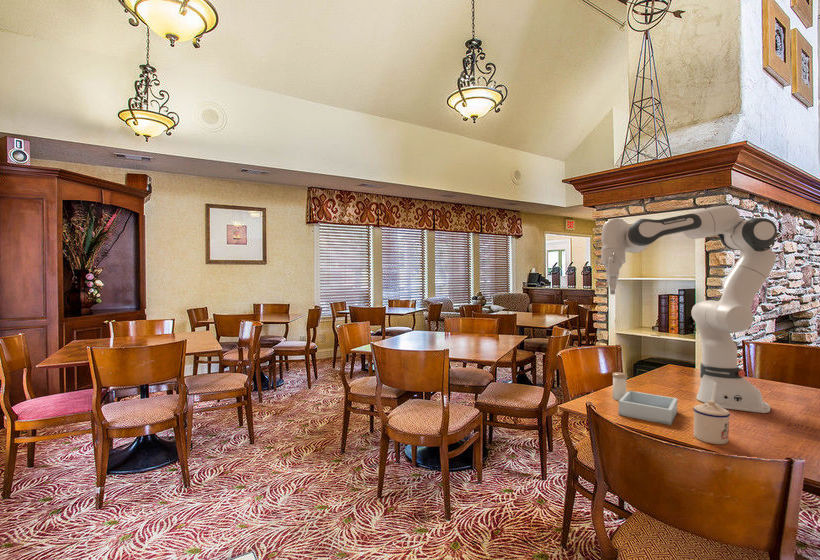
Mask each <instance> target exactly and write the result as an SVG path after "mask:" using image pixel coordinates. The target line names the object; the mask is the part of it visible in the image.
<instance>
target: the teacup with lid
mask: <svg viewBox="0 0 820 560" xmlns="http://www.w3.org/2000/svg"><path fill="white" fill-rule="evenodd" d="M730 416H731V414H730V411H729V409H728V410H727V409H726V408H721V407H720V406H718V405H716V404H715V401H711V400H708V401H707V403H704V402H703V403H702V404H696V405H694V406H693V437H695V438H696V439H698V440H699V441H702V442H704V443H709V444H712V445H713V444H714V445H725V444H726V445H727V444H728V442H729V436H730V435H729V427H730V426H729V425H730V424H729V423H730V421H729V420H730Z"/></svg>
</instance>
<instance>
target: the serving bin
mask: <svg viewBox="0 0 820 560" xmlns="http://www.w3.org/2000/svg"><path fill="white" fill-rule="evenodd" d="M617 412H618V416H623V417H626V418H633V419H638V420H643V421H648V422H651V423H657V424H658V423H659V424H662V425H668V426H672V425H673V422H674V419H675V418H676V416H677V413H678V398H677V397H671V396H670V397H669V396H664V395H657V394H652V393H648V392H647V393H646V392H640V391H635V390H634V391H633V390H627V391H626V394H625V395H624V396H623V397H622V398H621V399H620V400H618V410H617Z"/></svg>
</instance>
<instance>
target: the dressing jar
mask: <svg viewBox="0 0 820 560" xmlns="http://www.w3.org/2000/svg"><path fill="white" fill-rule="evenodd" d="M627 378H628V373H624V372H617V371H615V372H612V399H613V400H615V401H619V400H620V399H621V398H622V397H623V396H624V395H625V394H626V393H627Z"/></svg>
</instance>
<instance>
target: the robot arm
mask: <svg viewBox="0 0 820 560" xmlns="http://www.w3.org/2000/svg"><path fill="white" fill-rule="evenodd" d="M740 215H741V214H740V212H739V210H738V209H737V208H736V207H734V206H732V205H718V206H711V207H707V208H702V209H698V210H694V211H691V212H690V213H689V212H688V213H685V214H681V215H676V216H671V217H666V218H660V219H654V218H653V219H652V218H651V219H650V218H641V219H636V220H635V221H634V222H633V223H632V224H629V223H628V222H625V220H624V219H622V218H613V219H610V220H607V221H606V222H605V223H604V224H603V225H602V228H601V235H600V236H601V239H600V240H601V244H602V246H601V250H600V258H601V259H600V263H601V264H602V265H603V267H604V268H605V269H604V270H605V274H606V282H607V283H606V284H607V285H608V286H609V294H610V295H612V296H614V295H616V290H617V286H618V283H619V276H620V269H622V268H623V265H624V264H625V263H626V253H632V254H637V253H642V252H644V251H645V250H646V249H648V247H649V246H650V245H652V244H653V243H654V242H655V241H656V240H658V239H660V238H662V237H665V236H670V235H675V234H679V233H681V234H682V233H683V234H684V236H686V237H687V238H688V239H691V240H697V239H704V238H710V237H713V236H718V237H719V241H720V242H721V245H722V246H723V247H725V248H726V249H728V250H731V251H740V252H739V253H740V254H739V257H738V260H737V261H736V262H735V264H734V265H733V267H732V268H731V269H730V271H729V272H728V274H726V277H725V278H724V279H723V280H722V283H721V286H722V288H723V291H722V294H721V296H720V299H718V300H713V299H712V300H711V299H708V300H707V299H706V300H702V301H699V302H697V303H695V304H694V305H693V306H692V309H691V314H690V315H691V317H692V320H693V321H695V324H696V326H697V329H698V333H699V336H700V342H701V363H700V367H699V377H700V382H699V387H698V391H697V395H696V397H695V398H696V399H697V400H698V401H700V402H702V403H703V404H704V403H707V401H708V400H711V401H715V404H716V405H718V406H720V407H721V408H724V409H726V410H727V409H728V410H736V411H737V410H738V411H744V412H752V413H761V414H766V413H770V411H771V406H770V404H769V403H767V402H766V401H764V399H763V395H762V393H761V392H762V391H760V389H759V388H758V387H756V386H755V385H754V384H752V383H751V382H749V381H748V379H746V378H744V377H745V376H746V372H745V370H744V369H743V368H741V367H739V366H738V346H737V344H736V342H734V339H733V338H732V335H731V333H740V332H745V331H747V330H749V328H750V327H752V325H753V323H754V314H753V313H752V306H753V302H754V300H755V296H756V295H757V294H758V292H759V291H760V289H761V287H762V286H763V285H764V283H765V282H766V280H767V279H768V277H769V276H770V274H771V272H772V270H773V268H774V266H775V264H776V262H777V261H776V260H777V254H776V253H775V251H773V250H772V249H771V248H773V247H774V246H775V241H776V238H777V234H778V229H777V227H778V226H777V225H776V223H775V222H774V221H772V220H771V219H769V218H765V217H755V218H749V219H742V217H741V216H740Z"/></svg>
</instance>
